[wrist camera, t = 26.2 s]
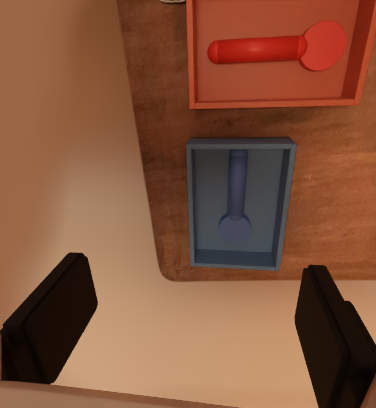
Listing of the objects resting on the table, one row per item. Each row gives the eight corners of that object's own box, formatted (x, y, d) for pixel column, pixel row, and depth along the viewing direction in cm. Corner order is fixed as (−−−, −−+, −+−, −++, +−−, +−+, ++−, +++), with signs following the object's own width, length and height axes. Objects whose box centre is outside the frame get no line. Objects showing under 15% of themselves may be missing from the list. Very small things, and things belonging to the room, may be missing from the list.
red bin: (193, 106, 32) (189, 109, 29) (190, -8, 28) (185, -22, 24) (343, 102, 30) (359, 105, 27) (368, -23, 25) (391, -40, 22)
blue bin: (193, 250, 41) (190, 266, 38) (190, 137, 34) (185, 144, 30) (274, 253, 40) (279, 271, 36) (289, 136, 32) (297, 143, 29)
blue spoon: (220, 143, 33) (220, 146, 31) (256, 143, 33) (258, 147, 31) (218, 237, 39) (218, 245, 37) (249, 238, 38) (250, 247, 36)
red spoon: (207, 75, 30) (206, 74, 28) (208, 29, 28) (206, 26, 27) (336, 70, 29) (344, 69, 27) (345, 21, 27) (354, 16, 25)
